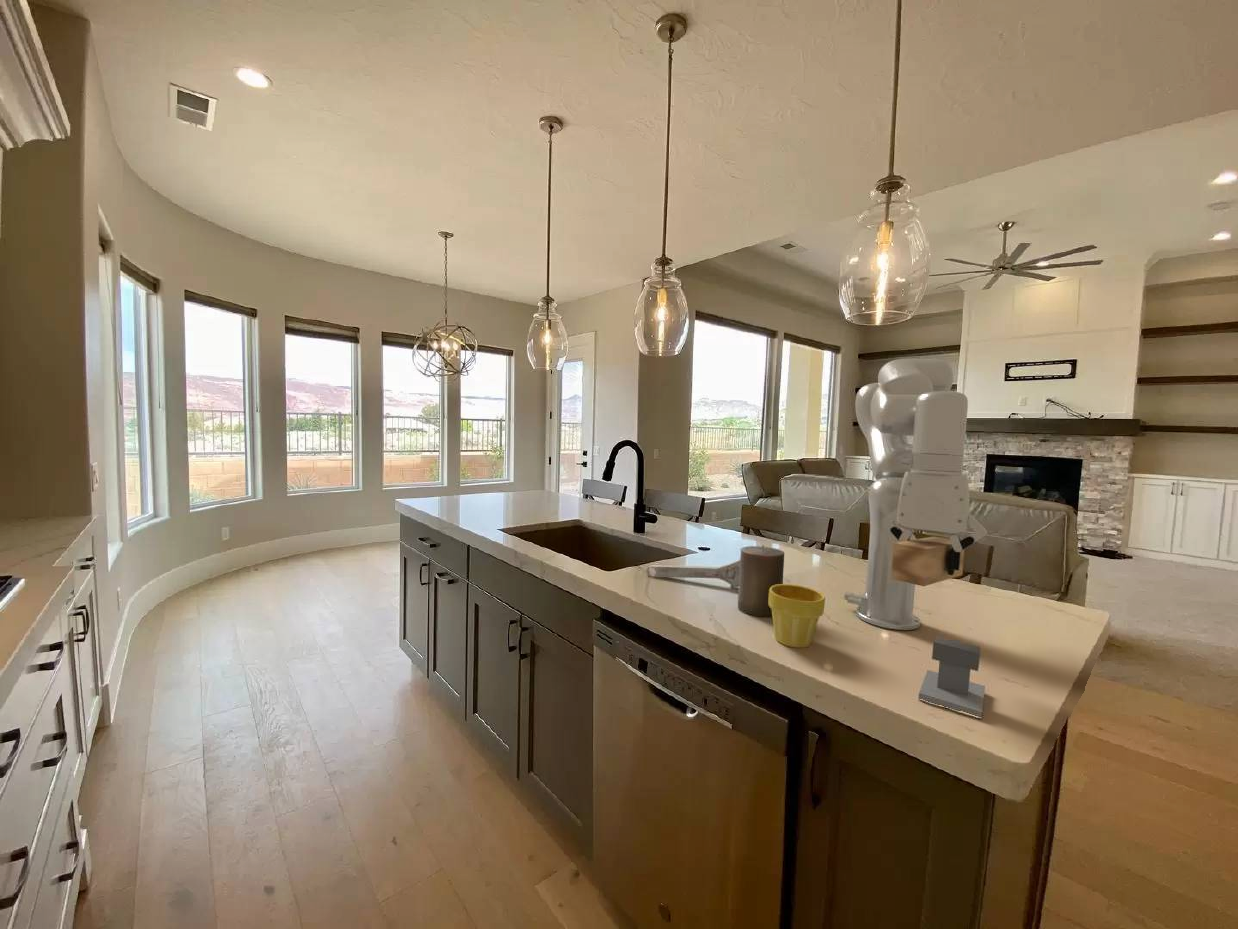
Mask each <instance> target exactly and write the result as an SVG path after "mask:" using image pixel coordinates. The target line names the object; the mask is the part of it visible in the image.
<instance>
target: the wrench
mask: <svg viewBox="0 0 1238 929" xmlns="http://www.w3.org/2000/svg"><path fill="white" fill-rule="evenodd" d="M651 568H652V569H654V570H655V573H654V574H652V573H651V572H650V569H651ZM739 572H740V558H739V559H737V560H735V561H733V562H731V563H728V564H724V565H720V566H700V565H699V566H697V565H693V566H692V565H668V564H667V565H665V564H664V565H662V564H661V565H659V564H652V565H651V564H650V565H649V566H648V567H646V570H645V573H646V575H647V576H648V577H651V578H678V579H679V578H680V579H681V578H684V579H685V578H686V579H687V578H689V579H691V578H692V579H717V580H721V581H723V582H726V583H727V584H729V585H730V588H731V589H735V590H737V589H738V588H739V574H740V573H739Z"/></svg>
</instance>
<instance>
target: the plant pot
mask: <svg viewBox="0 0 1238 929" xmlns="http://www.w3.org/2000/svg"><path fill="white" fill-rule="evenodd" d="M768 604H769V607H770V608H771V609H772V617H771V618H772V623H773V624H772V625H773V631H774V638H775V640H776V641H777V642H778V643H780V644H782V645H785V646H788V647H792V648H807V647H809V646H811V643H812V641H813V637H814V634H815V631H816V627H817V624H818V622H819V619H820V617H821V616H823V615H824V611H825V604H826V596H825V595H824V594H823V593H822V592H821V591H819V590H817V589H814V588H812V587H809V586H804V585H798V584H792V583H791V584H789V583H783V584H778V585H773V586H771V587H770V589H769V598H768Z"/></svg>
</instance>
